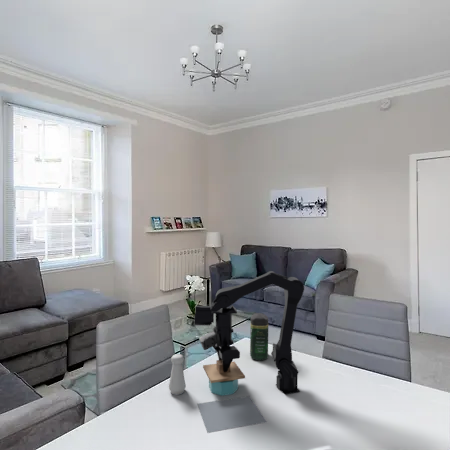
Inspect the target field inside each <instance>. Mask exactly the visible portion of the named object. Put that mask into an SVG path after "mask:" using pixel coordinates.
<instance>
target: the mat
mask: <svg viewBox="0 0 450 450" xmlns="http://www.w3.org/2000/svg"><path fill="white" fill-rule="evenodd" d="M196 405H197V408H198V410H199V413H200V416H201V420H202V421H203V424H204V427H205V429H206V432H207V434H210V433H214V432H221V431H224V430H225V431H226V430H231V429H236V428H242V427H247V426H253V425H258V424H264V423H267V422H268V421H267V419H266V418H265V416H264V415H263V413H262V412H261V410H259V408H258V406H257V404H256V403H255V402H254V401H253V399H252V398H251V396H250V395H245V396H240V397H233V398H227V399H220V400H219V399H218V400H213V401H206V402H201V403H200V402H199V403H196Z"/></svg>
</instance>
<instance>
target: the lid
mask: <svg viewBox="0 0 450 450" xmlns="http://www.w3.org/2000/svg"><path fill="white" fill-rule="evenodd" d="M202 368H203V370H204V372H205V375H206V376H207V379H208V381H209V380H210V382H211V383H215V382H222V381H229V380H236V379H238V380H243V379H246V375H245V373H244V372H243V371H242V370H241V368H240V367H239V366H238V365H237V363H236V362H235V361H232V362H231V364H230V366H229V368H228V371H227V372H224V371H223V365H222V360H219V359H218V360H216V363H212V364H205V365H204V364H203V366H202Z"/></svg>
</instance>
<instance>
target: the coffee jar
mask: <svg viewBox="0 0 450 450" xmlns="http://www.w3.org/2000/svg"><path fill="white" fill-rule="evenodd" d="M249 337H250V339H249V342H250V343H249V344H250V346H249V347H250V348H249V349H250V350H249V352H250V353H249V356H250V358H251V359H252V360H256V361H265V360H267V359H268V357H269V317H268V316H267V315H266V314H265V313H264V312H261V313H260V312H254V313H253V314H251V317H250V335H249Z"/></svg>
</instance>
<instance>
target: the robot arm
mask: <svg viewBox="0 0 450 450" xmlns="http://www.w3.org/2000/svg"><path fill="white" fill-rule="evenodd" d="M270 285H275V286H277V287H279V288H281V289H283V291H284V292H283V293H284V308H283V314H282V318H281V319H282V320H281V327H280V332H279V337H278V338H279V339H278V341H277V343H274V342H273V343H272V350H271V352H270V355H271V357H272V359H273V362H274V365H275V366H276V368H277V374H276V380H275V381H276V384H275V386H276V388H277V389H278V390H279V391H280V392H281V393H282V394H284V395H289V394H294V393H295V394H297V393H300V392H301V390H300V389H299V388H298V378H299V377H298V375H299V370H298V368H297V366H296V364H295V362H294V360H293V353H292V341H293V340H292V339H293V335H294V334H293V333H294V327H295V321H296V317H297V316H296V314H297V309H298V305H299V303H300V301H301V300H302V297H303V294H304V291H305V285H304V283H303V282H302V281H301V280H299V279H298V278H297V277H296V276H295V277H294V276H290V277H287V276H285V275H282V274H280V273H276V272H275V271H272V270H269V271H268V272H266V273H264V274H262V275H260V276H257V277H254V278H252V279H249V280H248V281H245V282H243V283H240V284H237V285H235V286H233V285H232V286H227V287H226V286H225V287H223V288H220V289H218V290H217V292H216V294H215V299H214V300H213V301H212V302H211V303H210V305H195V307H194V309H195V311H194V319H193V321H194V326H196V327H199V326H200V327H201V326H202V327H203V326H205V327H206V326H207V327H210V326H211V325H212V324H214V322H215V326H214V327H213V329H212V330H213V331H211V332H208V333H205V334H204V335H201V336H200V337H199V338H198V339H199V342H200V345H201V347H202V349H203V350H204V351H207V350H209V349H210V348H213V349H214V350H215V351H216V353H217V358H218V360H222V365H223V371H224V372H227V371H228V368H229V366H230V364H231V362H233V361H234V360H237V359H240V357H241V351H240V350H239V349H238V348H237V347H236V346H235V345H234V340H233V338H232V337H233V333H234V328H233V323H232V322H233V319H232V317H233V315H232V314H237V313H238V311H237V308H236V307H234V305H233V304H235V303H236V302H237V301H239V300H240V299H241V298H243V297H244V296H247V295H250V294H252V293H254V292H257V291H259V290H261V289H264V288H266V287H268V286H270ZM214 319H215V320H214Z"/></svg>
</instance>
